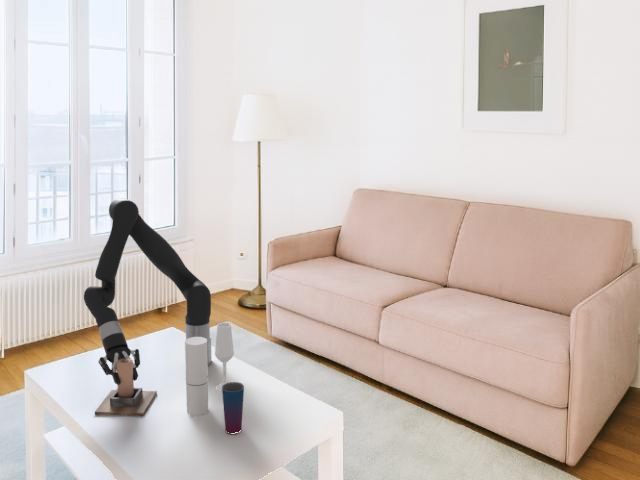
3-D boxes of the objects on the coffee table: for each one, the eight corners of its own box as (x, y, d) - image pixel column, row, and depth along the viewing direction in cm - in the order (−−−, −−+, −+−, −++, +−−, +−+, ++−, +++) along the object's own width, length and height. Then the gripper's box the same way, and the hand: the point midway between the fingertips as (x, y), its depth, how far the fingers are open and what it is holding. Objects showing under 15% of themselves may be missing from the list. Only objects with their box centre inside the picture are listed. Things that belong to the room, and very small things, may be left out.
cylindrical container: (211, 406, 215) (209, 337, 210) (205, 416, 208) (203, 345, 203) (190, 404, 216) (188, 336, 210) (184, 415, 209) (182, 344, 204)
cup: (223, 425, 203) (222, 382, 200) (244, 424, 204) (244, 381, 200) (221, 436, 197) (221, 392, 193) (243, 435, 197) (243, 391, 194)
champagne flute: (216, 383, 233) (215, 321, 227) (234, 382, 233) (233, 321, 228) (215, 391, 226) (214, 328, 221) (233, 391, 227) (233, 328, 221)
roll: (135, 391, 217) (134, 358, 215) (131, 398, 212) (129, 364, 210) (120, 390, 217) (119, 357, 215) (115, 397, 212) (114, 363, 210)
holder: (156, 393, 223) (156, 383, 222) (143, 416, 208) (142, 405, 207) (111, 392, 224) (111, 381, 223) (94, 414, 208) (94, 403, 207)
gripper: (94, 336, 212) (109, 382, 205) (135, 328, 221) (150, 372, 214) (89, 346, 217) (103, 391, 211) (129, 337, 226) (144, 380, 219)
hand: (127, 381), depth 212 cm, fingers closed on roll, 5 cm apart
